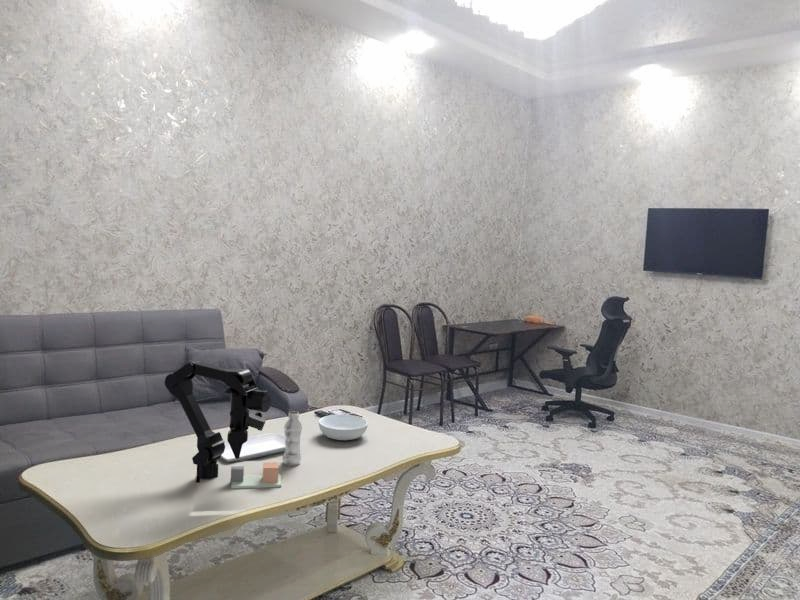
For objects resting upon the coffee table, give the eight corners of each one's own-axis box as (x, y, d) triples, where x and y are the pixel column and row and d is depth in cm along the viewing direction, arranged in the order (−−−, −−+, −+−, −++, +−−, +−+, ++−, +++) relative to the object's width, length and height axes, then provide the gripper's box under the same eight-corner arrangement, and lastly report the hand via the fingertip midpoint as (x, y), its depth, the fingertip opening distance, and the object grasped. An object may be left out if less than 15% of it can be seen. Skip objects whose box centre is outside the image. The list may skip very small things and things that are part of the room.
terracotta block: (262, 482, 202) (263, 468, 201) (262, 477, 207) (263, 462, 206) (278, 482, 203) (278, 467, 202) (277, 476, 208) (278, 462, 207)
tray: (300, 451, 240) (300, 442, 240) (226, 468, 218) (226, 458, 218) (277, 439, 252) (277, 431, 252) (205, 454, 231) (205, 445, 230)
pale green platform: (230, 488, 198) (230, 473, 197) (231, 477, 206) (231, 463, 206) (281, 486, 201) (281, 471, 201) (280, 476, 210) (281, 461, 210)
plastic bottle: (304, 465, 225) (306, 412, 223) (292, 470, 219) (294, 416, 217) (290, 461, 228) (293, 409, 226) (278, 466, 222) (280, 412, 220)
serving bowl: (309, 440, 252) (310, 424, 252) (329, 427, 272) (330, 411, 272) (356, 448, 247) (357, 431, 246) (373, 433, 267) (374, 418, 266)
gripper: (264, 415, 193) (262, 463, 195) (264, 400, 211) (262, 443, 213) (228, 415, 191) (226, 464, 192) (231, 400, 209) (229, 444, 210)
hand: (237, 453), depth 202 cm, fingers open, 9 cm apart
